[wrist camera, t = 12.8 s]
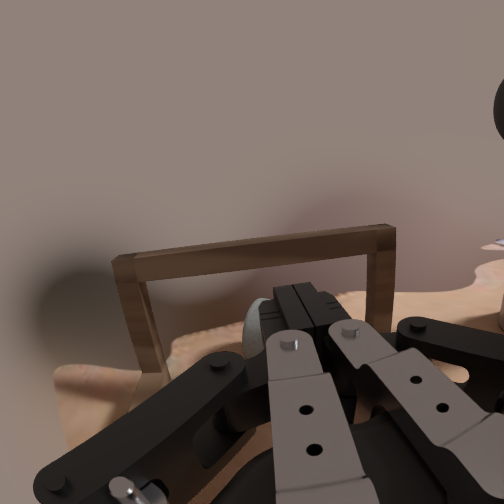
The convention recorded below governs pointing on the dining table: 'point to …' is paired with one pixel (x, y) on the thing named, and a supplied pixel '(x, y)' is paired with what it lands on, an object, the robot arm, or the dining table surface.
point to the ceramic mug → (252, 331)
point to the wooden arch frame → (243, 258)
